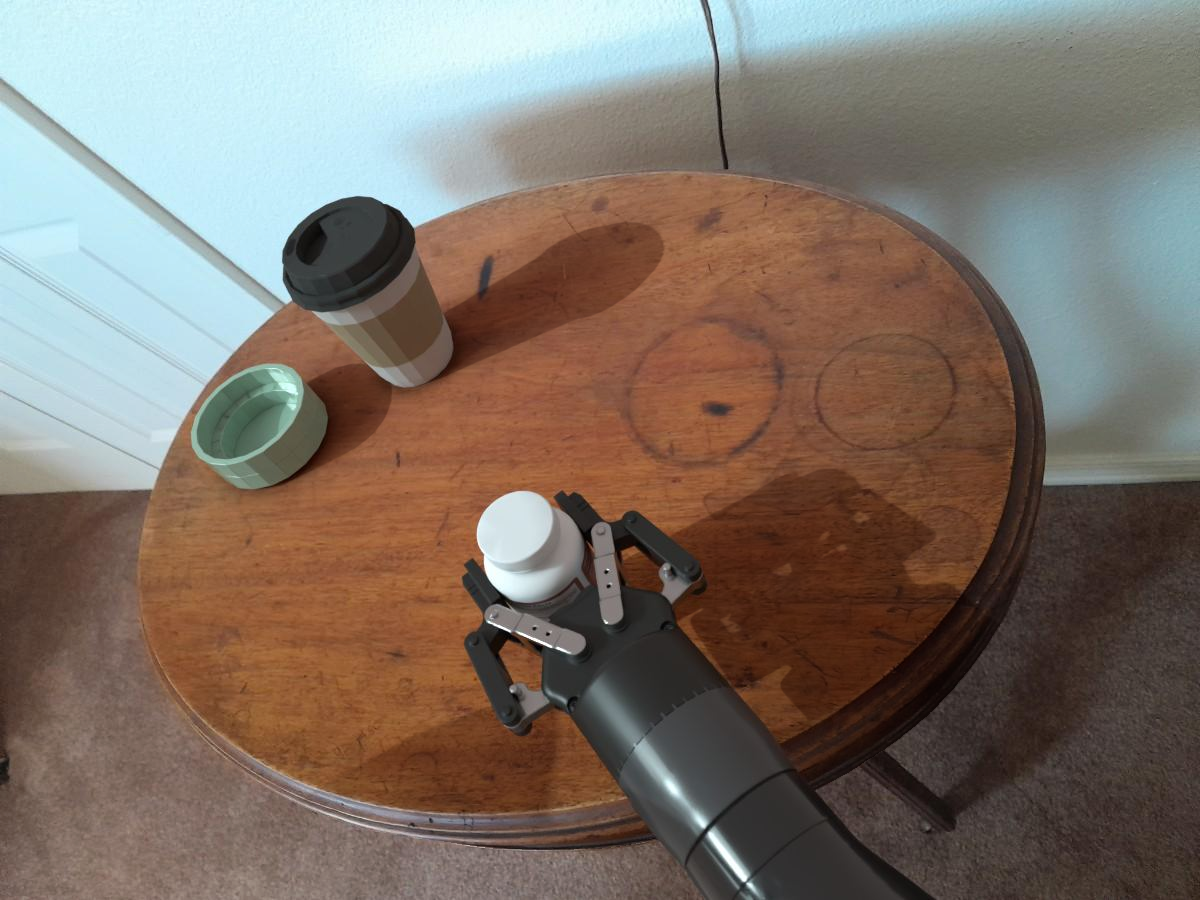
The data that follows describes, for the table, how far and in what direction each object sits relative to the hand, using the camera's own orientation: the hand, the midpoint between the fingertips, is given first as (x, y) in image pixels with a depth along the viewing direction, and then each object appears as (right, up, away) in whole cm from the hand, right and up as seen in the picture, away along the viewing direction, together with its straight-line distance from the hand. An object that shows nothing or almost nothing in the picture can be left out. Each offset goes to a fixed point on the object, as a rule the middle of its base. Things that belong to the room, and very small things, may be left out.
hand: (517, 533), depth 53 cm
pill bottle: (+3, -5, +4) cm, 8 cm away
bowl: (-24, +6, +25) cm, 35 cm away
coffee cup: (-12, +14, +26) cm, 32 cm away
